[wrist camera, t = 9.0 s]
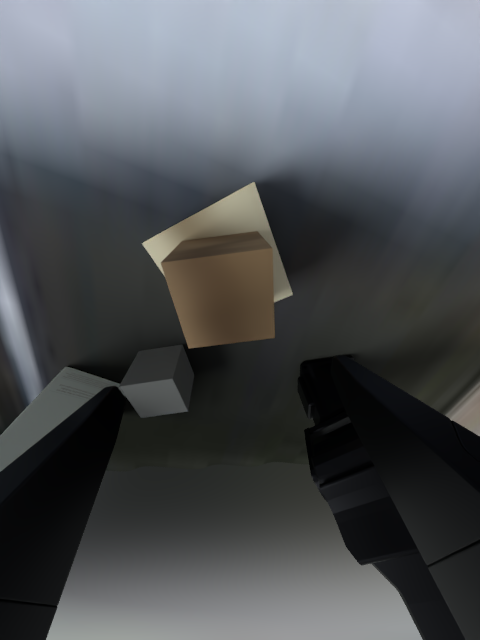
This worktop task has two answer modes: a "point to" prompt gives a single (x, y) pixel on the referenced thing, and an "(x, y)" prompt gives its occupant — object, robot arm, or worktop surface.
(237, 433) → the worktop surface
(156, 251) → the birch block
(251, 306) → the walnut cube
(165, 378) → the gray cube
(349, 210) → the worktop surface
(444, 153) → the worktop surface
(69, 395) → the supplement box
